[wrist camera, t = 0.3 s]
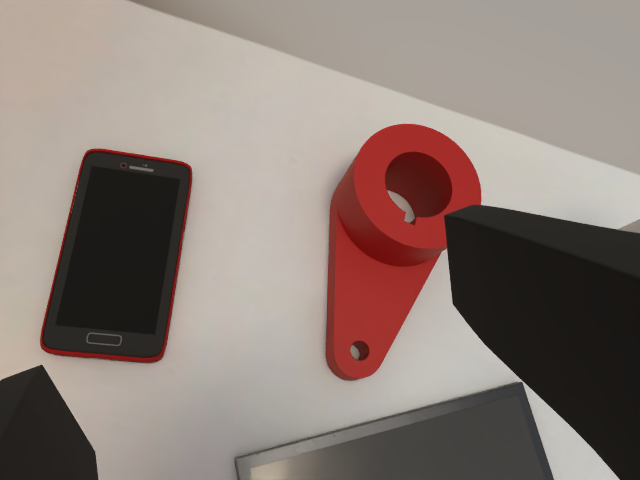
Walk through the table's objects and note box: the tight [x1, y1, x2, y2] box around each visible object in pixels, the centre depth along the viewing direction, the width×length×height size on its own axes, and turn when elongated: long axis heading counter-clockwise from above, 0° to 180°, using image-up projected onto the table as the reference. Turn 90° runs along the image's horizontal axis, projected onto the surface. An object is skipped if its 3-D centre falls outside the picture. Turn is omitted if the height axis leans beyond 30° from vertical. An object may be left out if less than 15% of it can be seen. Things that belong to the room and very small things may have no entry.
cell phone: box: [40, 149, 192, 363], centre depth 37 cm, size 8×15×1 cm, turn 176°
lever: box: [326, 124, 481, 380], centre depth 39 cm, size 18×9×7 cm, turn 163°
